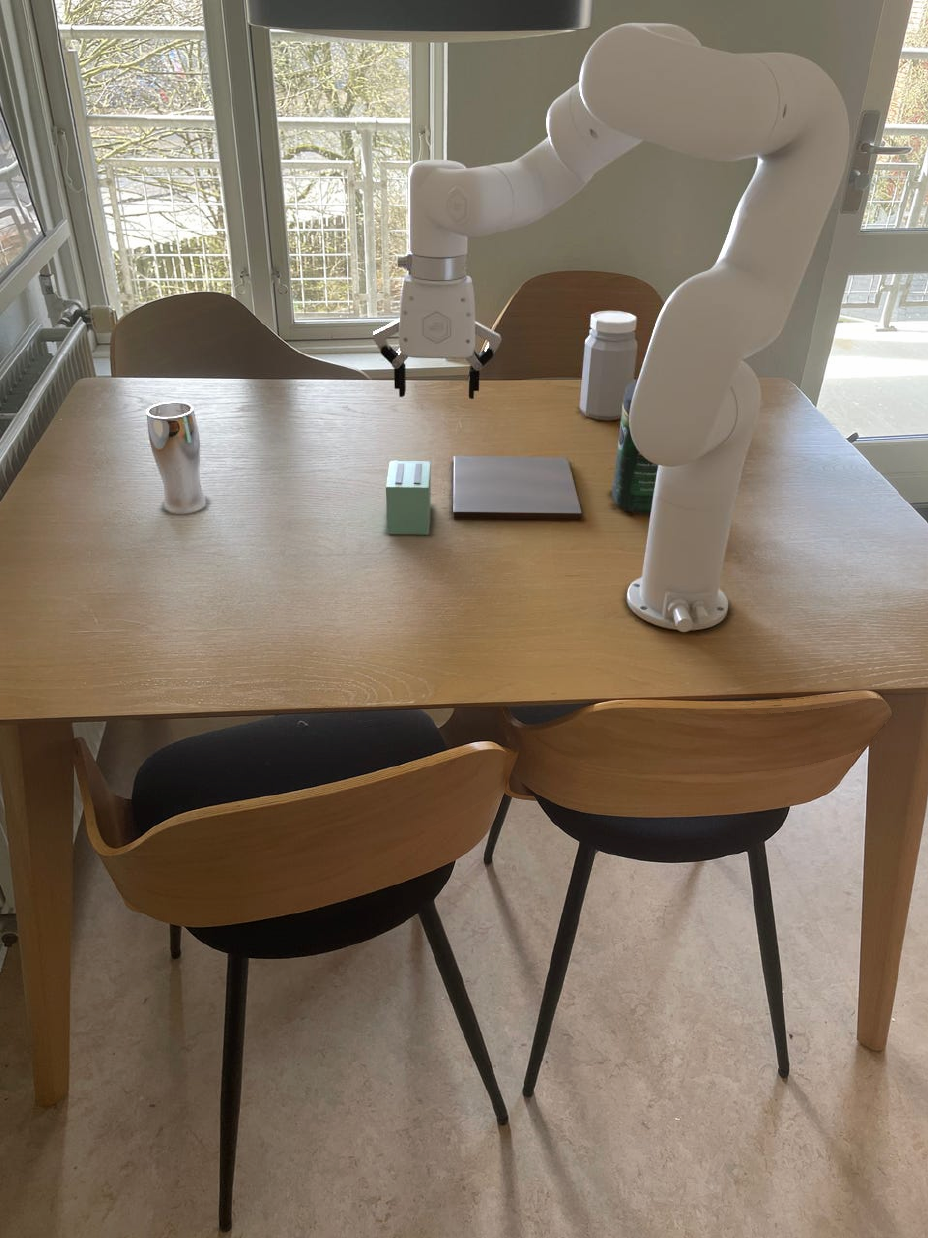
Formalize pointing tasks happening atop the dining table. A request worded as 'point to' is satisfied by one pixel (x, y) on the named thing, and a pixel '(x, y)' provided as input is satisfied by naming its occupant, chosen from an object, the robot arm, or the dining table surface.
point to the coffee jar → (632, 467)
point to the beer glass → (177, 455)
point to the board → (514, 488)
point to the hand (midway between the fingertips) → (436, 394)
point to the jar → (608, 364)
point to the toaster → (408, 497)
